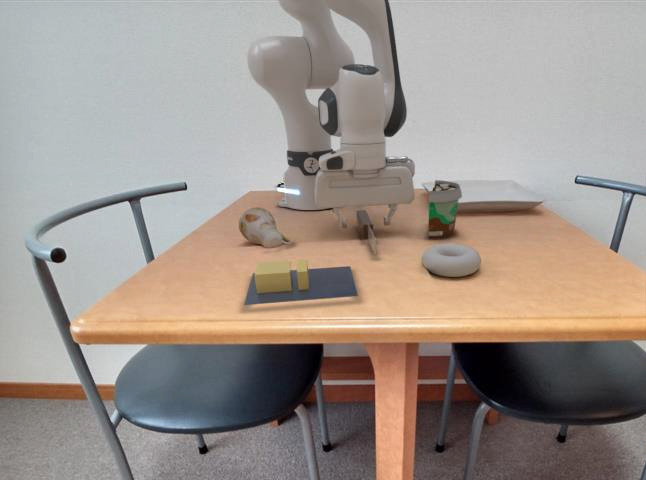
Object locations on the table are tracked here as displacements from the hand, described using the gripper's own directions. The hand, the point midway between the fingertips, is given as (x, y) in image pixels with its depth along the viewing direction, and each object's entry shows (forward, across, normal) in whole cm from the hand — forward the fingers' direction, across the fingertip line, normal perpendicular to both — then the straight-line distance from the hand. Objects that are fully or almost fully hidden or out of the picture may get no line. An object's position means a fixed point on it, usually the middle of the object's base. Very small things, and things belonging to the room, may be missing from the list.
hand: (365, 226), depth 91 cm
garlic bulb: (+2, +20, +3) cm, 20 cm away
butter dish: (+2, +13, +26) cm, 29 cm away
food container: (+2, -17, +2) cm, 17 cm away
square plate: (+2, -33, -23) cm, 40 cm away
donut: (+2, -12, +22) cm, 25 cm away
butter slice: (+1, +13, +26) cm, 29 cm away
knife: (+2, 0, +4) cm, 5 cm away
